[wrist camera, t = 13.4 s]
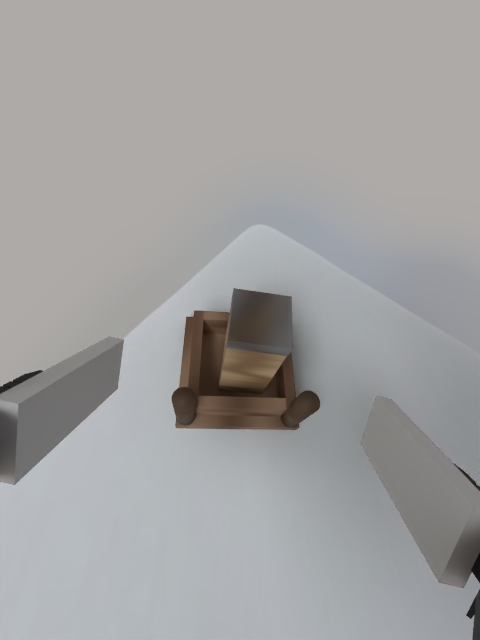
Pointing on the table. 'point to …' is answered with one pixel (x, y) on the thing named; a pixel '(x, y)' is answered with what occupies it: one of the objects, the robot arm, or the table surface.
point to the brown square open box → (231, 406)
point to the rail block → (255, 340)
